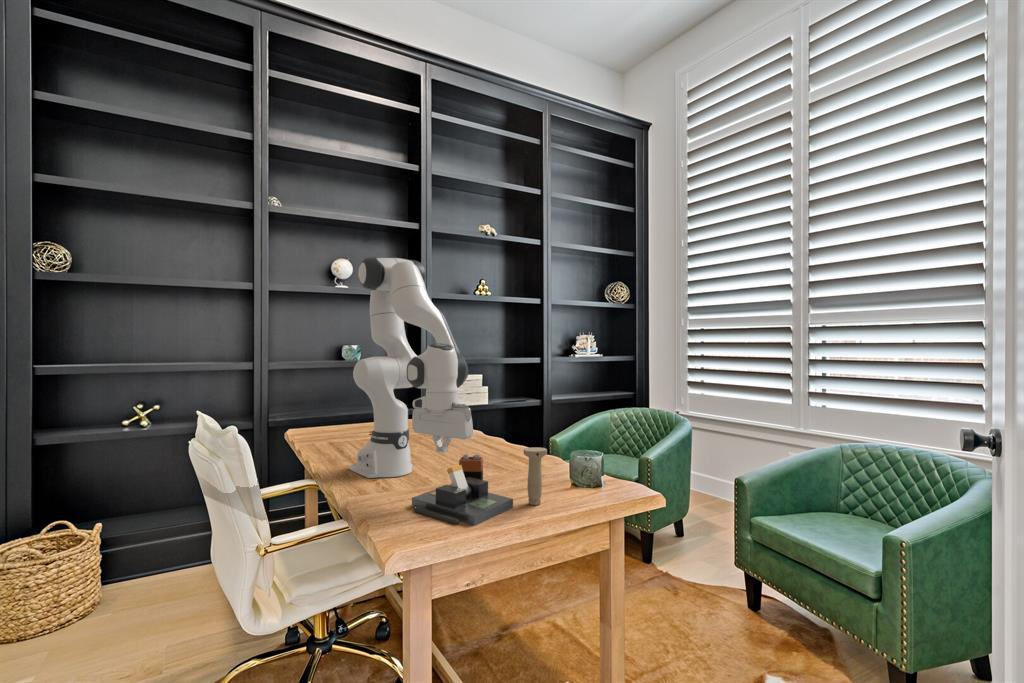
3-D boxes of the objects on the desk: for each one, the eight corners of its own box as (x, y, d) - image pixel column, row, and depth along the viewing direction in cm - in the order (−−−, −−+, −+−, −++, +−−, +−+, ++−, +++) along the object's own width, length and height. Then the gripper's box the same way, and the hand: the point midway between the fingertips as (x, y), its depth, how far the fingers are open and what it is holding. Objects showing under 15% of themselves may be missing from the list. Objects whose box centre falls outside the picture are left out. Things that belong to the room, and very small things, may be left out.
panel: (411, 506, 132) (411, 484, 132) (452, 491, 145) (452, 471, 145) (474, 525, 119) (474, 500, 119) (513, 507, 132) (513, 485, 132)
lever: (455, 499, 130) (445, 470, 133) (466, 495, 134) (456, 466, 136) (461, 497, 129) (451, 467, 131) (472, 493, 133) (462, 464, 135)
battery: (481, 490, 146) (481, 457, 146) (458, 490, 147) (458, 456, 147) (483, 486, 151) (483, 453, 150) (461, 485, 151) (461, 453, 151)
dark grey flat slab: (413, 512, 128) (413, 507, 128) (465, 492, 145) (465, 488, 145) (456, 525, 119) (456, 520, 119) (507, 502, 136) (507, 498, 136)
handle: (548, 506, 133) (548, 450, 133) (525, 507, 132) (526, 451, 132) (543, 500, 138) (543, 447, 138) (521, 501, 137) (521, 447, 137)
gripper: (477, 403, 133) (478, 454, 133) (424, 399, 145) (424, 446, 145) (462, 405, 128) (462, 458, 127) (408, 401, 140) (408, 449, 140)
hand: (442, 452), depth 136 cm, fingers closed
